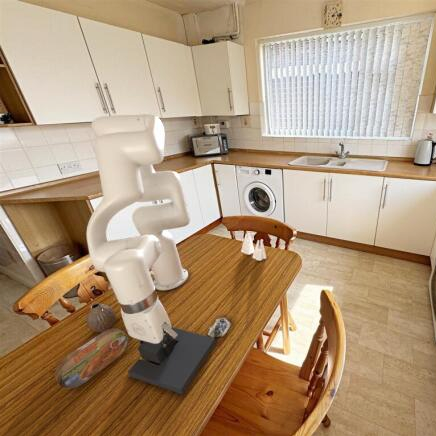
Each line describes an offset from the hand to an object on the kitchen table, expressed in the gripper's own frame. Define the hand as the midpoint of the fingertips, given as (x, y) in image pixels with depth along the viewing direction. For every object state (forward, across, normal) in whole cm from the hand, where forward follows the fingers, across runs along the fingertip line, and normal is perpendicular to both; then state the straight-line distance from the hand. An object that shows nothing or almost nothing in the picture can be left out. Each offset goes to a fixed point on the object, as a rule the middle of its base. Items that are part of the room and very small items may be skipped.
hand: (159, 349), depth 64 cm
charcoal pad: (+2, +5, 0) cm, 5 cm away
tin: (+2, -13, -7) cm, 15 cm away
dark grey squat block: (+1, 0, 0) cm, 1 cm away
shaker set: (+2, +5, +50) cm, 50 cm away
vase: (+2, -24, +3) cm, 25 cm away
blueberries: (+2, +11, +12) cm, 16 cm away
